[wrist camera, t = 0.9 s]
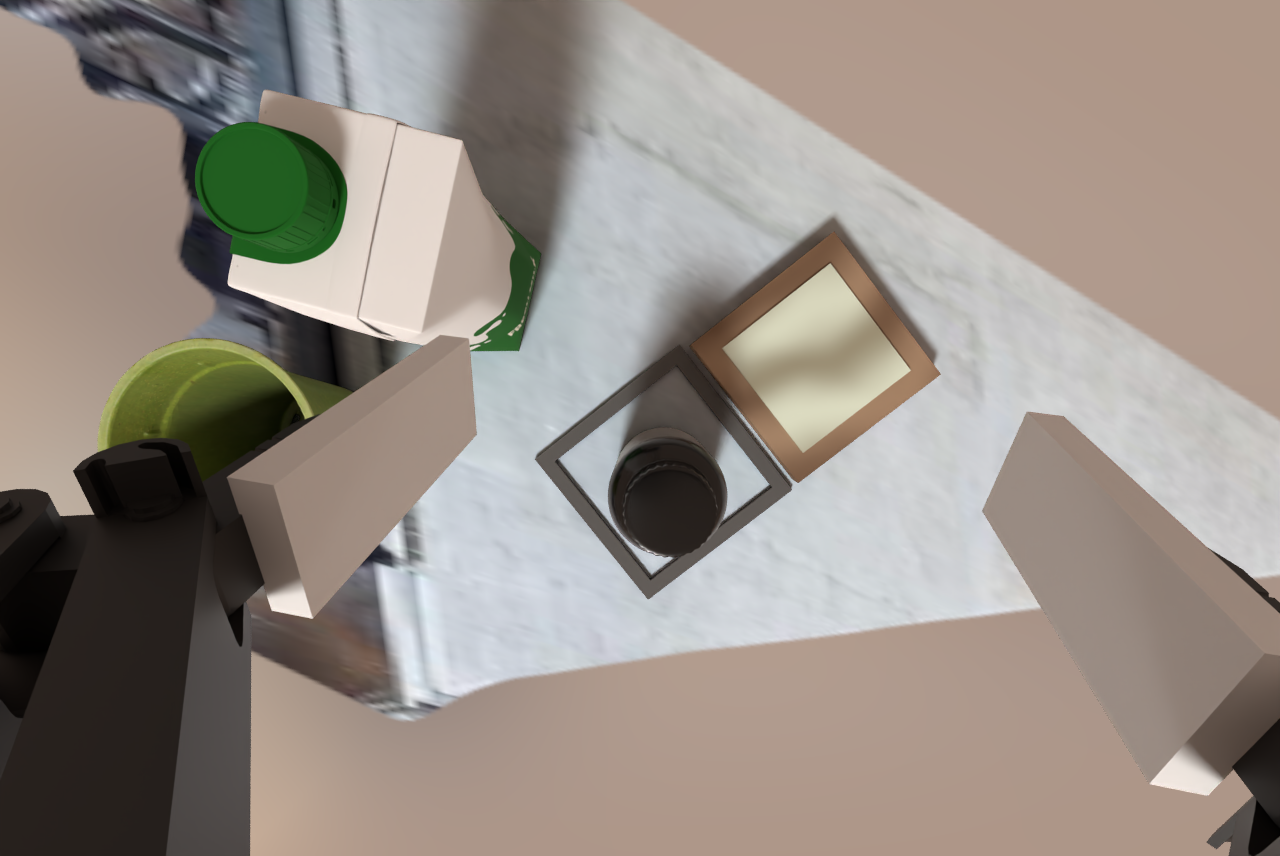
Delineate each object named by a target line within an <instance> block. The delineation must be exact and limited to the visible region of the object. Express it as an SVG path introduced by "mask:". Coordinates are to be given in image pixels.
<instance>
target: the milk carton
mask: <svg viewBox="0 0 1280 856" xmlns="http://www.w3.org/2000/svg"><path fill="white" fill-rule="evenodd" d="M195 184H196V191H197V195H198V198H199V201H200V203H201V205H202V207H203V209H204V211H205V212H206V214H207V215H208V216H209V218H210V219H211V220H212V221H213V222H214V223H215V224H216V225H217V226H218V227H219V228H221V229H222V230H224V231H225V232H226V233H228V234H231V235H233V238H232V242H231V247H230V253H232V254H233V258H232V262H231V266H230V271H229V277H228V285H229V286H230V287H233V288H235V289H238V290H241V291H244V292H247V293H249V294H252V295H255V296H257V297H260V298H262V299H265V300H267V301H270V302H272V303H275V304H277V305H280V306H282V307H285V308H288V309H290V310H293V311H295V312H298V313H301V314H303V315H306V316H309V317H312V318H316V319H319V320H322V321H325V322H328V323H331V324H334V325H337V326H341V327H344V328H347V329H350V330H354V331H357V332H361V333H364V334H368V335H371V336H375V337H379V338H383V339H387V340H391V341H395V340H399V341H403V342H408V343H414V344H420V345H426V344H427V343H429V342H430V341H432V340H433V339H435V338H436V337H438V336H439V335H446V336H453V337H461V338H469V343H470V351H519V348H520V344H521V340H522V335H523V331H524V327H525V322H526V318H527V313H528V309H529V305H530V300H531V296H532V292H533V287H534V283H535V279H536V274H537V270H538V266H539V261H540V257H541V253H540V252H539V251H538V250H537V249H536V248H535V247H534V246H532V245H531V244H530V243H529V242H528V241H527V240H526V239H525V238H524V237H523V236H522V235H521V234H520V233H518V232H517V231H516V230H515V229H514V228H513V227H512V226H511V225H510V224H509V223H508V222H507V221H505V220H504V218H503V217H502V216H501V215H500V214H499V213H498V212H497V210H496V209H495V208H494V207H493V206H492V205H491V204H490V202H489V201H488V200H487V199H486V198H485V197H484V196H483V194H482V191H481V189H480V186H479V183H478V181H477V178H476V176H475V173H474V170H473V167H472V165H471V162H470V159H469V157H468V154H467V151H466V149H465V146H464V143H463V141H462V140H460V139H456V138H452V137H448V136H444V135H440V134H436V133H432V132H428V131H424V130H420V129H416V128H412V127H411V126H409V125H407V124H405V123H403V122H400V121H397V120H394V119H391V118H387V117H384V116H380V115H375V114H369V113H368V114H366V113H362V112H358V111H354V110H350V109H346V108H341V107H337V106H333V105H329V104H325V103H321V102H316V101H312V100H308V99H304V98H300V97H295V96H291V95H287V94H283V93H279V92H274V91H270V90H264V91H263V94H262V99H261V104H260V112H259V120H258V122H242V123H237V124H233V125H230V126H228V127H225V128H223V129H222V130H220V131H219V132H217V133H216V134H215V135H214V136H213V137H212V138H211V139H210V140H209V141H208V142H207V143H206V145H205V146H204V148H203V149H202V151H201V153H200V156H199V158H198V161H197V165H196V172H195ZM394 339H395V340H394Z"/></svg>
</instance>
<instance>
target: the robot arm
mask: <svg viewBox="0 0 1280 856" xmlns="http://www.w3.org/2000/svg"><path fill="white" fill-rule="evenodd" d="M476 435H477V432H476V419H475V407H474V394H473V381H472V369H471V356H470V343H469V338H461V337H453V336H446V335H439V336H438V337H436V338H435V339H433V340H432V341H430V342H429V343H427V344H426V345H424V346H423V347H421V348H420V349H418V350H417V351H415V352H414V353H412V354H411V355H409V356H408V357H406V358H405V359H403V360H402V361H400V362H399V363H397V364H396V365H394V366H393V367H391V368H390V369H388V370H387V371H385V372H384V373H382V374H381V375H379V376H378V377H376V378H375V379H373V380H372V381H370V382H369V383H367V384H366V385H364V386H363V387H361V388H360V389H358V390H357V391H355V392H354V393H352V394H351V395H349V396H348V397H346V398H345V399H343V400H342V401H340V402H339V403H337V404H336V405H334V406H333V407H331V408H330V409H328V410H327V411H325V412H324V413H322V414H317V415H315V416H312V417H309V418H307V419H304V420H301V421H299V422H296V423H293V424H291V425H290V426H288V427H287V428H285V429H284V430H282V431H281V432H279V433H277V434H276V435H274V436H273V437H272V440H267V441H265V442H263V443H262V444H260V445H259V446H257V447H256V448H255V451H250V452H248V453H246V454H245V455H243V456H242V457H240V458H239V459H237V460H236V461H234V462H233V463H231V464H229V465H228V466H226V467H225V468H223V469H222V470H220V471H219V472H217V473H216V474H214V475H212V476H211V477H209V478H208V479H206V480H205V481H203V482H202V480H201V477H200V474H199V472H198V469H197V466H196V464H195V461H194V458H193V455H192V453H191V450H190V447H189V445H188V444H187V443H185V442H183V441H181V440H178V439H169V438H153V439H142V440H137V441H132V442H128V443H123V444H119V445H116V446H113V447H111V448H108V449H105V450H102V451H100V452H97V453H96V454H94V455H92V456H90V457H89V458H87V459H85V460H83V461H82V462H81V463H80V464H79V465H78V466H77V467H76V468H75V470H73V472H74V474H75V476H76V478H77V480H78V482H79V484H80V486H81V488H82V490H83V492H84V494H85V496H86V498H87V500H88V502H89V504H90V507H91V508H92V511H93V513H94V515H76V516H60V515H59V514H58V512H57V510H56V508H55V506H54V504H53V502H52V500H51V498H50V497H49V495H48V493H46V492H43V491H40V490H36V489H15V490H9V491H2V492H0V856H250V757H251V749H250V748H251V614H250V611H249V609H248V606H247V603H246V601H247V600H248V599H249V598H250V597H251V596H252V595H253V594H254V593H255V592H256V591H257V590H258V589H259V588H260V587H261V586H264V589H265V592H266V594H267V597H268V600H269V603H270V606H271V609H272V611H277V612H282V613H287V614H292V615H297V616H302V617H307V618H312V619H313V618H314V617H315V615H316V614H317V613H318V612H319V611H320V610H321V609H322V608H323V606H324V605H325V604H326V603H327V602H328V601H329V600H330V599H331V597H332V596H333V595H334V594H335V593H336V592H337V591H338V590H339V589H340V587H341V586H342V585H343V584H344V583H345V582H346V581H347V580H348V578H349V577H350V576H351V575H352V574H353V573H354V572H355V571H356V569H357V568H358V567H359V566H360V565H361V564H362V563H363V562H364V560H365V559H366V558H367V557H368V556H369V555H370V554H371V553H372V551H373V550H374V549H375V548H376V547H377V546H378V545H379V544H380V542H381V541H382V540H383V539H384V538H385V537H386V536H387V535H388V533H389V532H390V531H391V530H392V529H393V528H394V527H395V526H396V525H397V523H398V522H399V521H400V520H401V519H402V518H403V517H404V516H405V514H406V513H407V512H408V511H409V510H410V509H411V508H412V507H413V505H414V504H415V503H416V502H417V501H418V500H419V499H420V498H421V496H422V495H423V494H424V493H425V492H426V491H427V490H428V489H429V487H430V486H431V485H432V484H433V483H434V482H435V481H436V480H437V478H438V477H439V476H440V475H441V474H442V473H443V472H444V471H445V469H446V468H447V467H448V466H449V465H450V464H451V463H452V462H453V461H454V459H455V458H456V457H457V456H458V455H459V454H460V453H461V452H462V450H463V449H464V448H465V447H466V446H467V445H468V444H469V443H470V441H471V440H472V439H473V438H474V437H475V436H476ZM982 512H983V513H984V515H985V516H986V518H987V520H988V521H989V523H990V525H991V526H992V528H993V530H994V531H995V533H996V534H997V536H998V538H999V539H1000V541H1001V543H1002V544H1003V546H1004V548H1005V549H1006V551H1007V552H1008V554H1009V556H1010V557H1011V559H1012V561H1013V562H1014V564H1015V566H1016V567H1017V569H1018V570H1019V572H1020V574H1021V575H1022V577H1023V579H1024V580H1025V582H1026V584H1027V585H1028V587H1029V588H1030V590H1031V592H1032V593H1033V595H1034V597H1035V598H1036V600H1037V602H1038V603H1039V605H1040V606H1041V608H1042V610H1043V611H1044V613H1045V615H1046V616H1047V618H1048V620H1049V621H1050V623H1051V624H1052V626H1053V627H1054V629H1055V631H1056V633H1057V634H1058V636H1059V637H1060V639H1061V641H1062V642H1063V644H1064V646H1065V647H1066V649H1067V651H1068V652H1069V654H1070V655H1071V657H1072V659H1073V660H1074V662H1075V664H1076V665H1077V667H1078V669H1079V670H1080V672H1081V673H1082V675H1083V677H1084V678H1085V680H1086V682H1087V683H1088V685H1089V687H1090V688H1091V690H1092V692H1093V693H1094V695H1095V696H1096V698H1097V700H1098V701H1099V703H1100V705H1101V706H1102V708H1103V710H1104V711H1105V713H1106V714H1107V716H1108V718H1109V719H1110V721H1111V723H1112V724H1113V726H1114V728H1115V729H1116V731H1117V732H1118V734H1119V736H1120V737H1121V739H1122V741H1123V742H1124V744H1125V745H1126V747H1127V749H1128V750H1129V752H1130V754H1131V755H1132V757H1133V759H1134V760H1135V762H1136V763H1137V765H1138V767H1139V768H1140V770H1141V772H1142V773H1143V775H1144V777H1145V778H1146V780H1147V782H1148V783H1149V784H1151V785H1157V786H1161V787H1167V788H1172V789H1177V790H1182V791H1187V792H1193V793H1197V794H1202V795H1207V796H1208V795H1209V794H1210V793H1211V792H1212V791H1213V790H1214V789H1215V788H1216V787H1217V786H1218V785H1219V783H1220V782H1221V781H1222V780H1223V779H1225V777H1226V776H1227V775H1228V774H1229V773H1230V772H1231V771H1232V770H1233V769H1234V770H1235V772H1236V773H1237V774H1238V776H1239V777H1240V778H1241V779H1242V781H1243V782H1244V783H1245V785H1246V786H1247V787H1248V789H1249V790H1250V791H1251V793H1252V794H1253V795H1254V796H1253V797H1252V798H1251V799H1250V800H1248V802H1246V803H1245V804H1244V805H1243V806H1242V807H1241V808H1240V809H1239V810H1238V811H1237V812H1236V813H1235V814H1234V815H1233V816H1232V817H1230V818H1229V819H1228V820H1227V821H1226V822H1225V823H1224V824H1223V825H1222V826H1221V827H1220V828H1219V829H1218V830H1217V831H1216V832H1215V833H1214V834H1213V835H1212V836H1211V837H1210V838H1209V840H1208V841H1207V843H1208V844H1210V845H1211V846H1213V847H1214V848H1216V849H1217V848H1218V847H1220V846H1221V845H1222V844H1223V843H1224V842H1231V847H1230V852H1229V856H1280V603H1279V602H1278V601H1277V600H1276V599H1275V598H1271V597H1269V595H1268V594H1269V593H1268V592H1267V591H1266V590H1265V589H1264V588H1263V587H1262V586H1260V585H1259V584H1258V583H1257V582H1256V581H1255V580H1254V579H1253V578H1252V577H1250V576H1249V575H1248V574H1247V573H1246V572H1245V571H1244V570H1243V569H1241V568H1239V567H1238V566H1236V565H1235V564H1233V563H1231V562H1230V561H1228V560H1227V559H1225V558H1223V557H1222V556H1220V555H1219V554H1217V553H1215V552H1214V551H1212V550H1211V549H1209V548H1207V547H1206V546H1205V545H1204V544H1203V543H1202V542H1201V541H1200V540H1199V539H1198V538H1196V537H1195V536H1194V535H1193V534H1192V533H1191V532H1190V531H1189V530H1188V529H1187V528H1185V527H1184V526H1183V525H1182V524H1181V523H1180V522H1179V521H1178V520H1177V519H1176V518H1175V517H1173V516H1172V515H1171V514H1170V513H1169V512H1168V511H1167V510H1166V509H1165V508H1164V507H1162V506H1161V505H1160V504H1159V503H1158V502H1157V501H1156V500H1155V499H1154V498H1153V497H1151V496H1150V495H1149V494H1148V493H1147V492H1146V491H1145V490H1144V489H1143V488H1142V487H1141V486H1139V485H1138V484H1137V483H1136V482H1135V481H1134V480H1133V479H1132V478H1131V477H1130V476H1128V475H1127V474H1126V473H1125V472H1124V471H1123V470H1122V469H1121V468H1120V467H1119V466H1118V465H1116V464H1115V463H1114V462H1113V461H1112V460H1111V459H1110V458H1109V457H1108V456H1107V455H1105V454H1104V453H1103V452H1102V451H1101V450H1100V449H1099V448H1098V447H1097V446H1096V445H1094V444H1093V443H1092V442H1091V441H1090V440H1089V439H1088V438H1087V437H1086V436H1085V435H1084V434H1082V433H1081V432H1080V431H1079V430H1078V429H1077V428H1076V427H1075V426H1074V425H1073V424H1071V423H1070V422H1069V421H1068V420H1067V419H1066V418H1065V417H1064V416H1057V415H1049V414H1041V413H1034V412H1027V413H1026V415H1025V417H1024V419H1023V422H1022V424H1021V426H1020V428H1019V430H1018V433H1017V435H1016V437H1015V439H1014V441H1013V444H1012V446H1011V448H1010V450H1009V453H1008V455H1007V457H1006V459H1005V461H1004V464H1003V466H1002V468H1001V470H1000V472H999V475H998V477H997V479H996V481H995V484H994V486H993V488H992V490H991V492H990V495H989V497H988V499H987V501H986V504H985V506H984V508H983V510H982Z"/></svg>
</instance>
